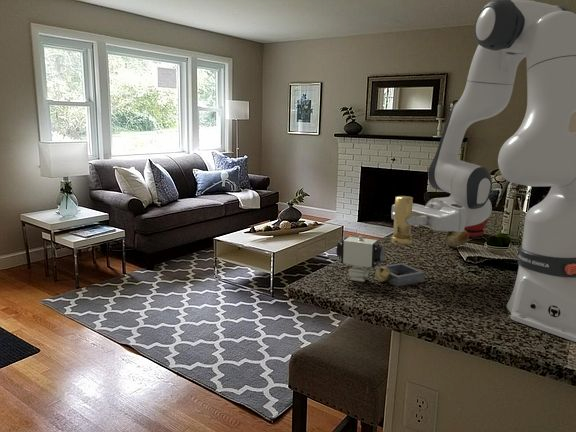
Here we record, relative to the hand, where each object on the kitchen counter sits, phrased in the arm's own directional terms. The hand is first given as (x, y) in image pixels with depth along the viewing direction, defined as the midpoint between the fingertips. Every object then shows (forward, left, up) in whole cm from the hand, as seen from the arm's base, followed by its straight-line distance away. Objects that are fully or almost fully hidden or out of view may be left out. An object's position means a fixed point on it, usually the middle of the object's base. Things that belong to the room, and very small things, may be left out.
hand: (400, 218), depth 115 cm
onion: (+17, -39, -17) cm, 46 cm away
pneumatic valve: (+4, +9, -17) cm, 19 cm away
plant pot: (+28, -57, -17) cm, 66 cm away
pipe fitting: (0, -1, -6) cm, 7 cm away
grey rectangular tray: (0, -1, -16) cm, 17 cm away
